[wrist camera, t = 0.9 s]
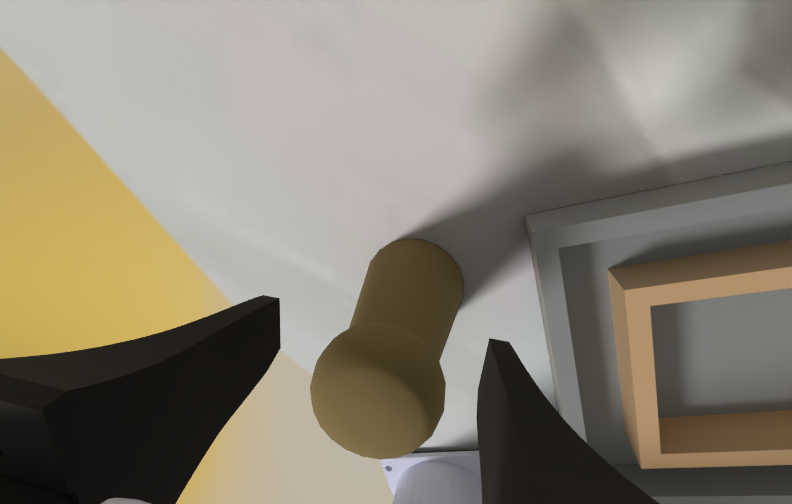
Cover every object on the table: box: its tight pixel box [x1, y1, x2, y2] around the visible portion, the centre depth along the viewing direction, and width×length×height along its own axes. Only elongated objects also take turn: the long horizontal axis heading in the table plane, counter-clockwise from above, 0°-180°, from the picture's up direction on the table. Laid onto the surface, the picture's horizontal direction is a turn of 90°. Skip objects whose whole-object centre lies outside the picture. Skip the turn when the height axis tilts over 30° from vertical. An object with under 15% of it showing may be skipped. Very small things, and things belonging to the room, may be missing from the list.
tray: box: [525, 161, 792, 504], centre depth 19 cm, size 18×18×3 cm
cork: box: [310, 239, 464, 459], centre depth 18 cm, size 6×6×11 cm
